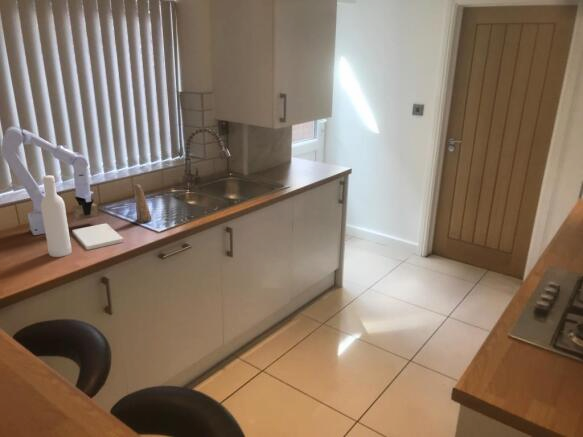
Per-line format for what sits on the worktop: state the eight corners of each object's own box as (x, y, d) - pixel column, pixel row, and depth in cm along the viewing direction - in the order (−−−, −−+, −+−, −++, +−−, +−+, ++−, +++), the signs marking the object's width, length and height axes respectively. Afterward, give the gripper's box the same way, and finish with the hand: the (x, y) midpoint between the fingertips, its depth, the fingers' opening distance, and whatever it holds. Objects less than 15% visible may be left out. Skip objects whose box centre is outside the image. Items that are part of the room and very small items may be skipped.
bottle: (53, 248, 182) (41, 173, 172) (75, 248, 183) (63, 173, 173) (45, 257, 175) (31, 179, 164) (67, 257, 175) (55, 179, 165)
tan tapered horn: (138, 220, 216) (137, 225, 210) (128, 183, 209) (126, 187, 203) (152, 217, 217) (151, 222, 211) (142, 180, 209) (141, 184, 204)
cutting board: (87, 250, 182) (87, 246, 181) (72, 233, 197) (72, 230, 197) (123, 241, 190) (123, 238, 189) (106, 226, 205) (106, 223, 205)
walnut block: (77, 220, 202) (75, 209, 200) (74, 217, 205) (72, 206, 203) (98, 216, 207) (97, 205, 205) (95, 213, 210) (94, 203, 208)
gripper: (97, 185, 198) (100, 216, 202) (86, 178, 208) (90, 207, 213) (79, 188, 193) (83, 219, 198) (69, 180, 204) (74, 210, 209)
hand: (86, 213), depth 205 cm, fingers closed on walnut block, 4 cm apart
